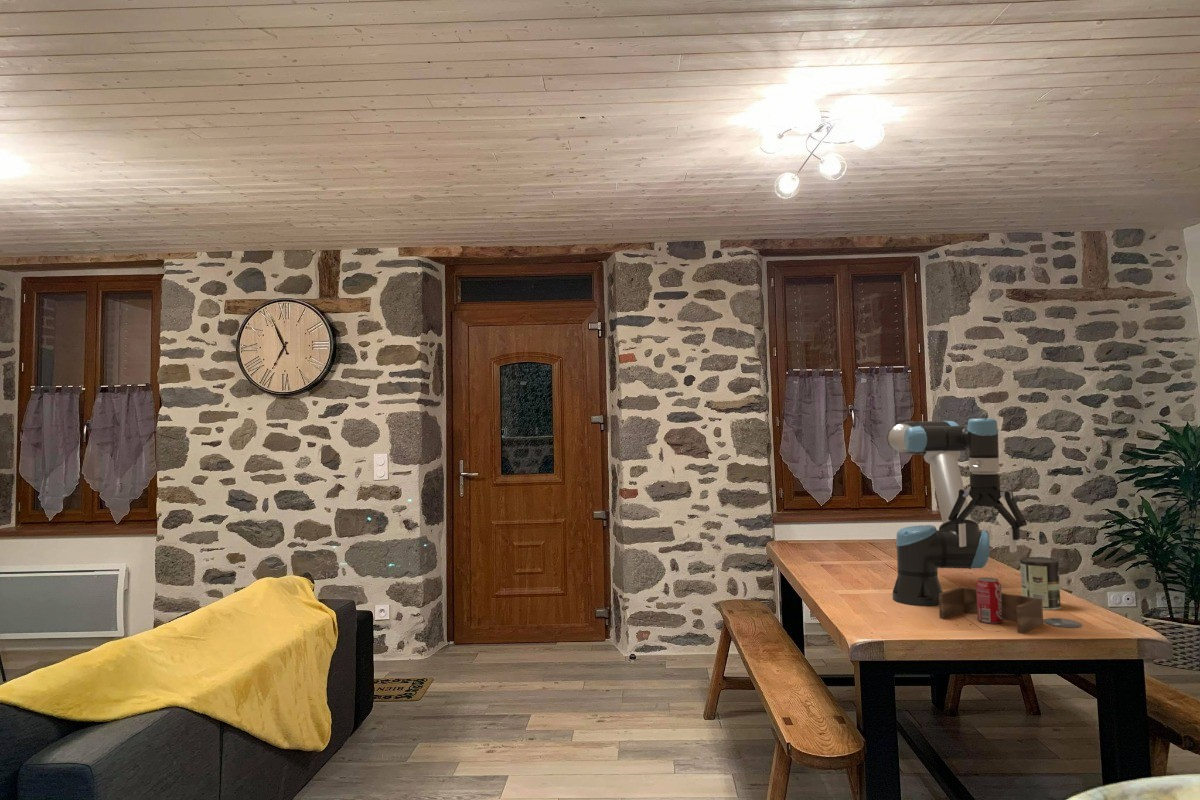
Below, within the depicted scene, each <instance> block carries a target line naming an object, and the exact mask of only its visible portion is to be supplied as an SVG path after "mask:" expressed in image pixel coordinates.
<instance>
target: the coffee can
mask: <svg viewBox="0 0 1200 800" xmlns="http://www.w3.org/2000/svg"><path fill="white" fill-rule="evenodd" d="M1019 562H1020V566H1019V567H1020V582H1021V583H1020V584H1021V585H1020V586H1021V587H1020V588H1021V596H1026V597H1033V598H1040V599H1042V603H1043V611H1044V610H1045V611H1046V610H1047V611H1053V610H1054V611H1056V610H1061V609H1062V606H1061V603H1062V602H1061V589H1060V569H1059V568H1060V566H1059V565H1060V561H1059V560H1058V559H1056V558H1055V559H1054V558H1050V557H1042V556H1041V557H1040V556H1036V557H1035V556H1025V557H1020V558H1019Z"/></svg>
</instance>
